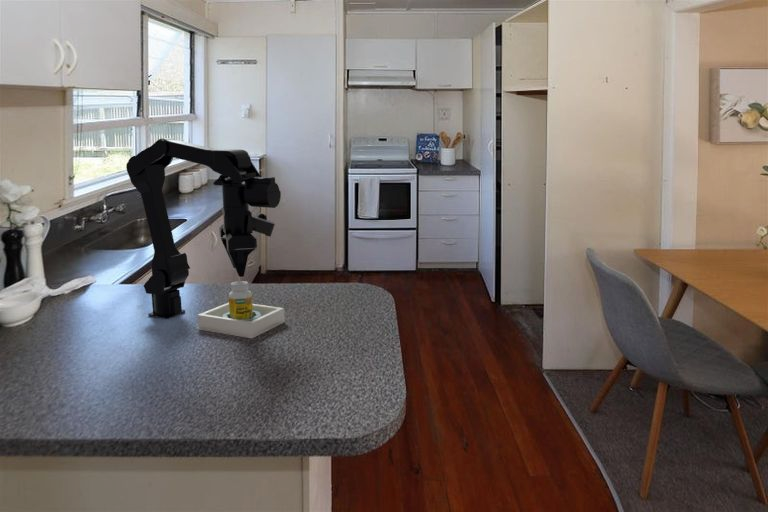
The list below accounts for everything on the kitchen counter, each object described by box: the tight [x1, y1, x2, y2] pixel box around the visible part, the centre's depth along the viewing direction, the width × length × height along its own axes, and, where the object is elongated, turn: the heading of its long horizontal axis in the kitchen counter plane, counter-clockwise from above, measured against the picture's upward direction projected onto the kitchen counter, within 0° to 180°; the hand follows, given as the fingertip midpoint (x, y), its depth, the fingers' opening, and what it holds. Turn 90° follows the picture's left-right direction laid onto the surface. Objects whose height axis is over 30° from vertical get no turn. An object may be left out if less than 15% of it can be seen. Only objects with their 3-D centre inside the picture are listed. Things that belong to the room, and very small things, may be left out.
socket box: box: [197, 302, 285, 339], centre depth 154 cm, size 15×13×4 cm
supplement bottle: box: [228, 280, 253, 320], centre depth 153 cm, size 5×5×10 cm
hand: (238, 272), depth 153 cm, fingers open, 9 cm apart
